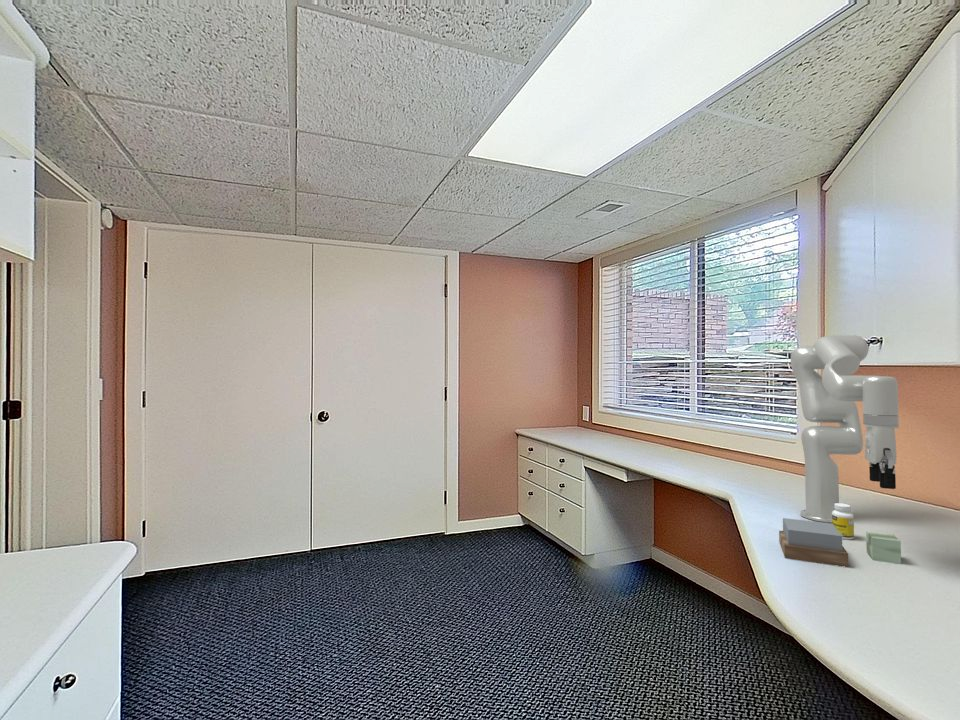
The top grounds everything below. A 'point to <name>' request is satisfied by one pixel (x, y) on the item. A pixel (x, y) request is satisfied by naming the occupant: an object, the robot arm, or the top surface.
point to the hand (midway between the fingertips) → (882, 484)
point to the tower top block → (812, 534)
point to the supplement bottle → (843, 520)
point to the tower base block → (813, 553)
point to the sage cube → (883, 547)
